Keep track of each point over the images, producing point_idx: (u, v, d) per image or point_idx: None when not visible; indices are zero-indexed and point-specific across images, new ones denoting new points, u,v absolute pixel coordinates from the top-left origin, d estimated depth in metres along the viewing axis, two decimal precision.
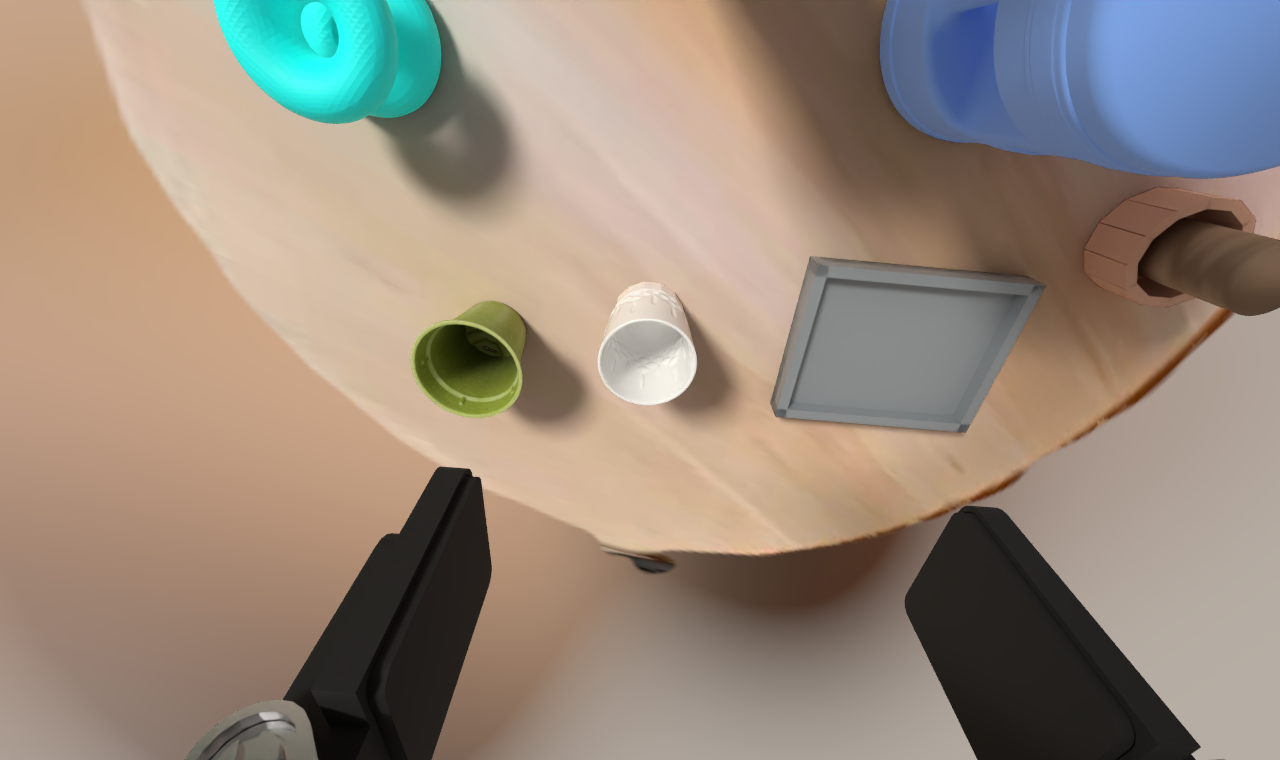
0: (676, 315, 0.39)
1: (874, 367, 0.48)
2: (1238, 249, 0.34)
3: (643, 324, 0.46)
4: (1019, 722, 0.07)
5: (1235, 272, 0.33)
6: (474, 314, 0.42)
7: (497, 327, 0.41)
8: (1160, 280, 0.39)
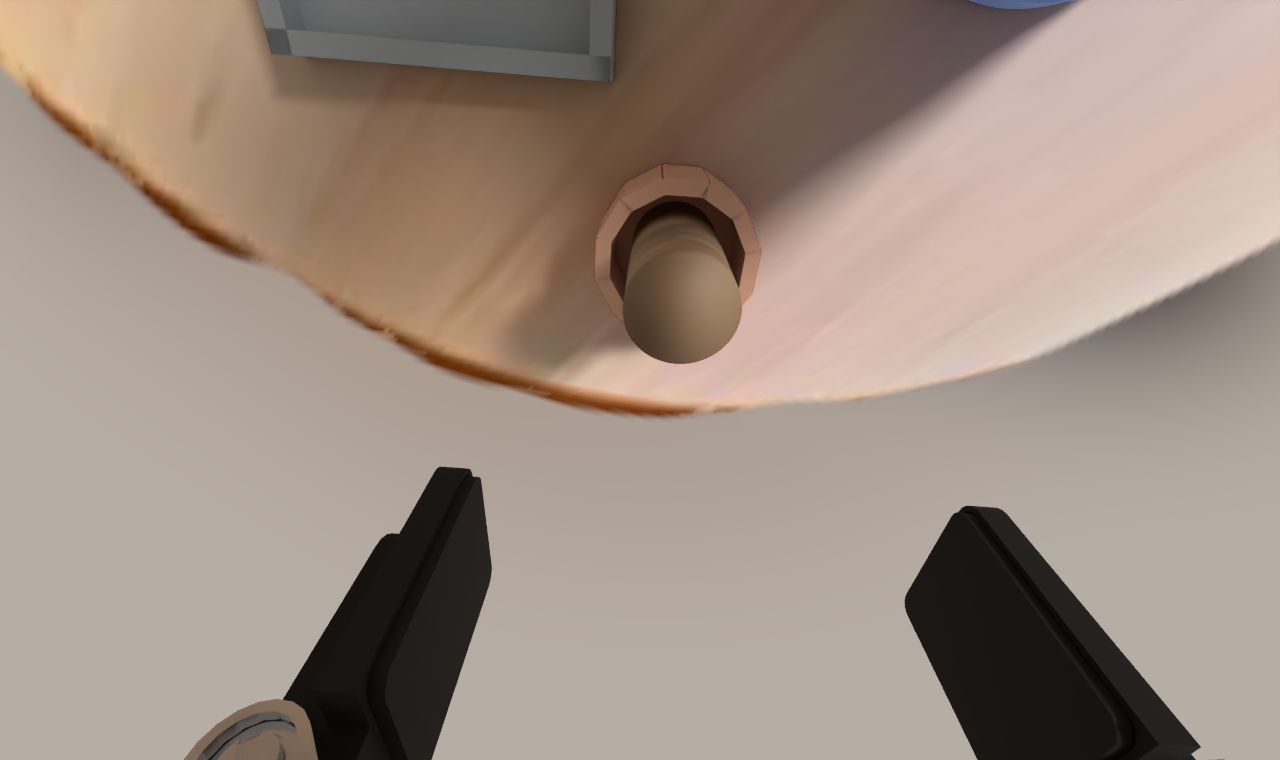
0: None
1: None
2: (722, 259, 0.21)
3: None
4: (1019, 722, 0.07)
5: (696, 251, 0.19)
6: None
7: None
8: (640, 236, 0.24)
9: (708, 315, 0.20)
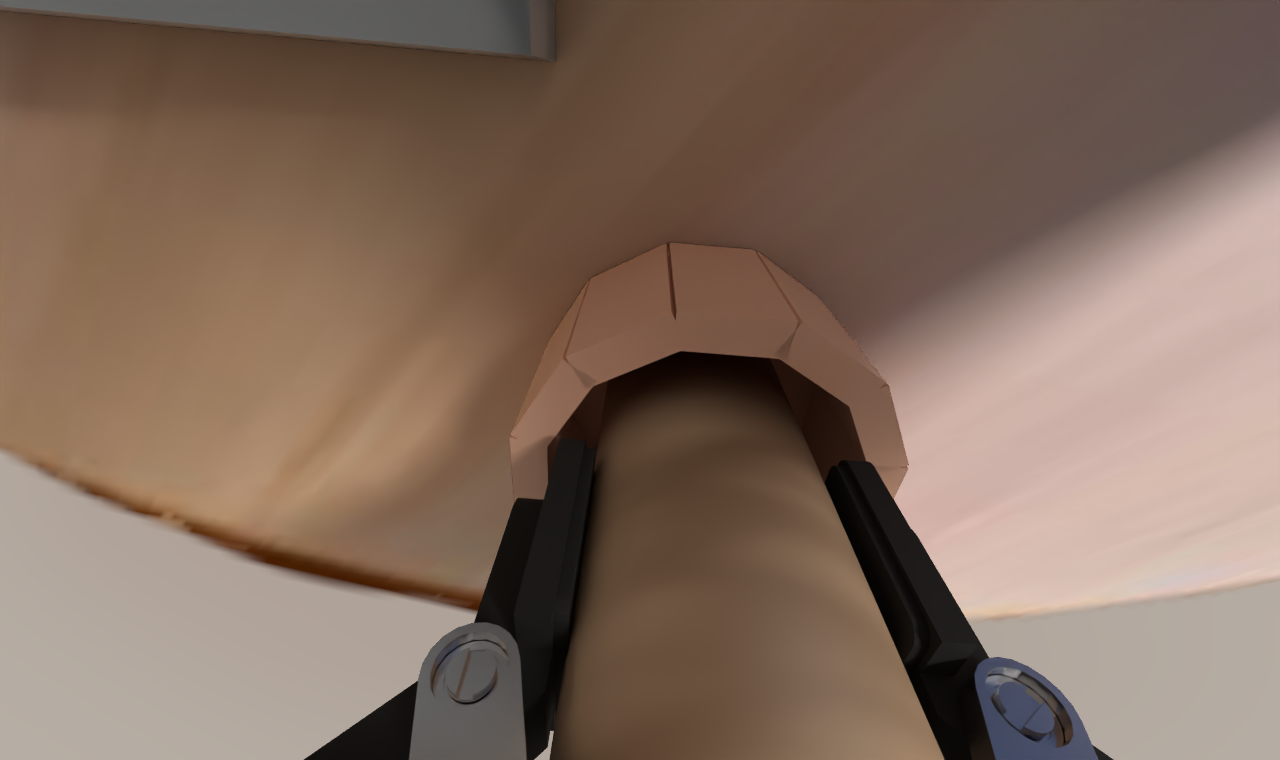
0: None
1: None
2: (882, 642, 0.06)
3: None
4: None
5: (823, 723, 0.05)
6: None
7: None
8: (616, 449, 0.10)
9: None
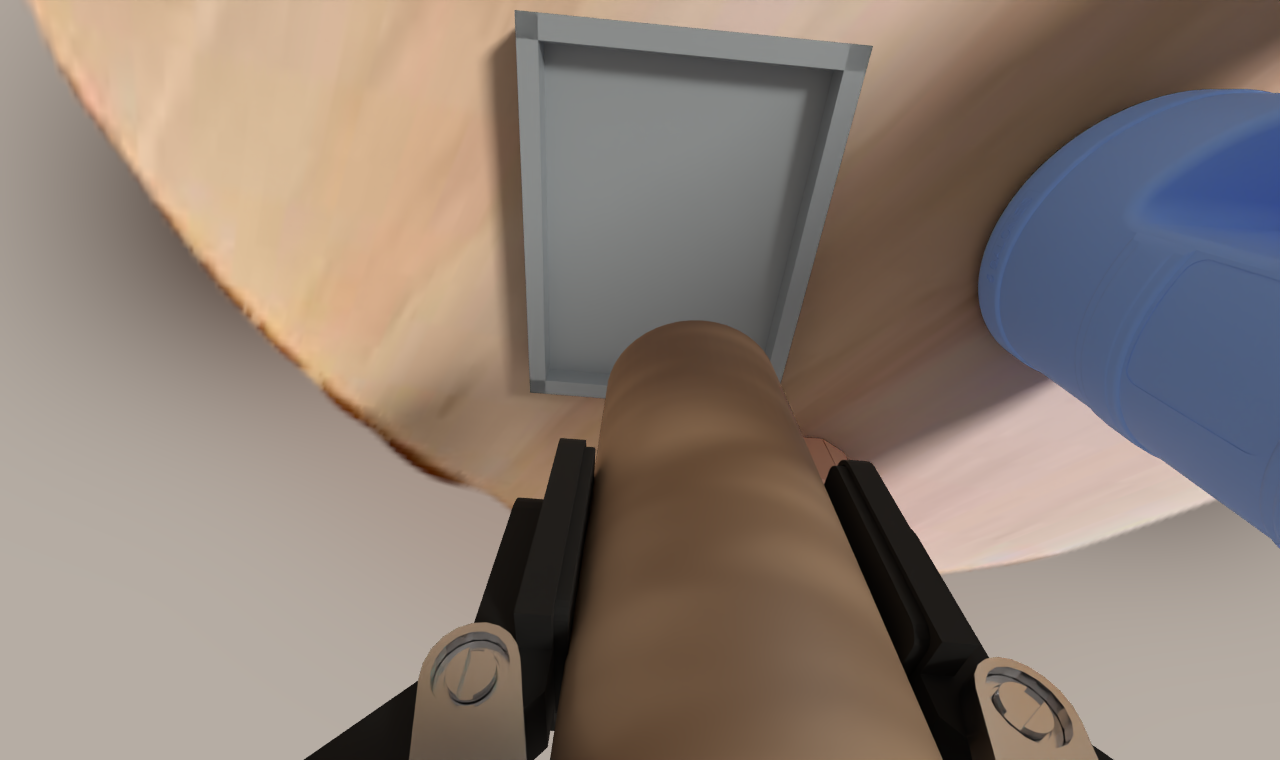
0: None
1: (633, 222, 0.27)
2: (881, 644, 0.06)
3: None
4: None
5: (822, 724, 0.05)
6: None
7: None
8: (616, 450, 0.10)
9: None
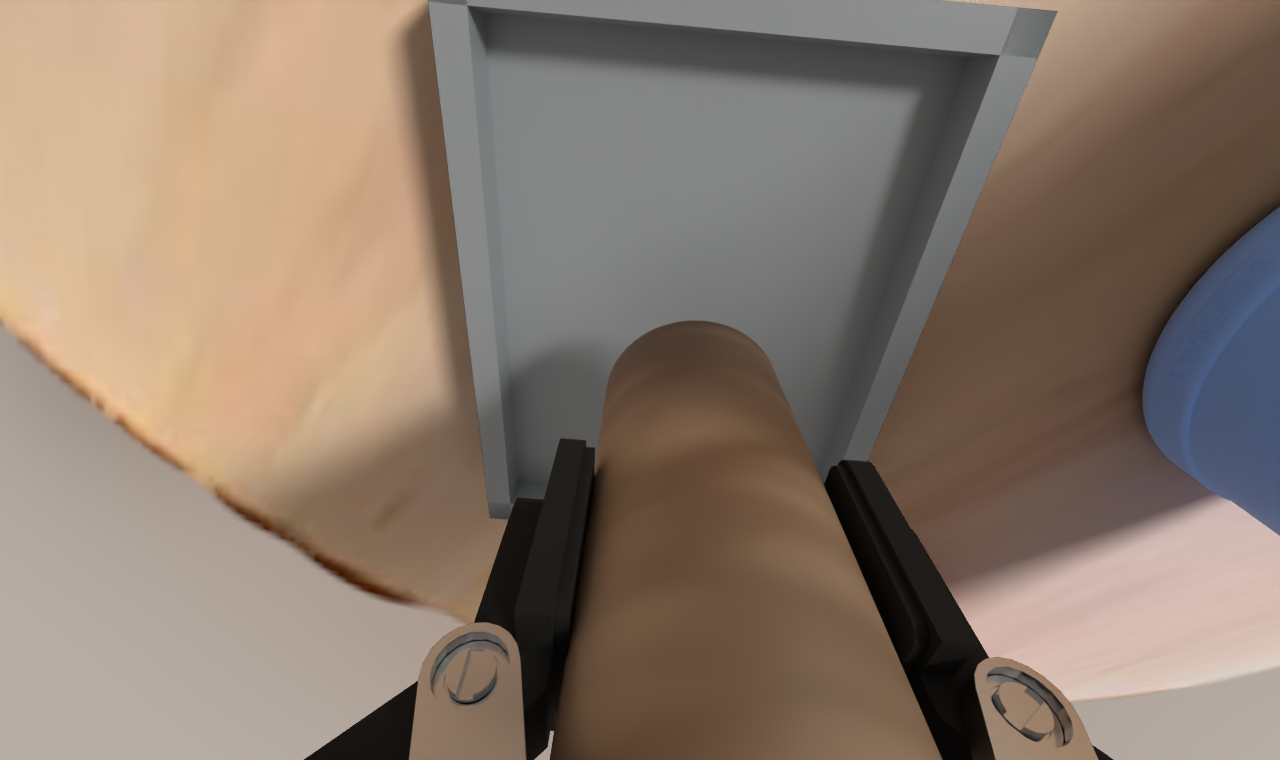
0: None
1: (634, 291, 0.18)
2: (882, 645, 0.06)
3: None
4: None
5: (822, 727, 0.05)
6: None
7: None
8: (616, 450, 0.10)
9: None
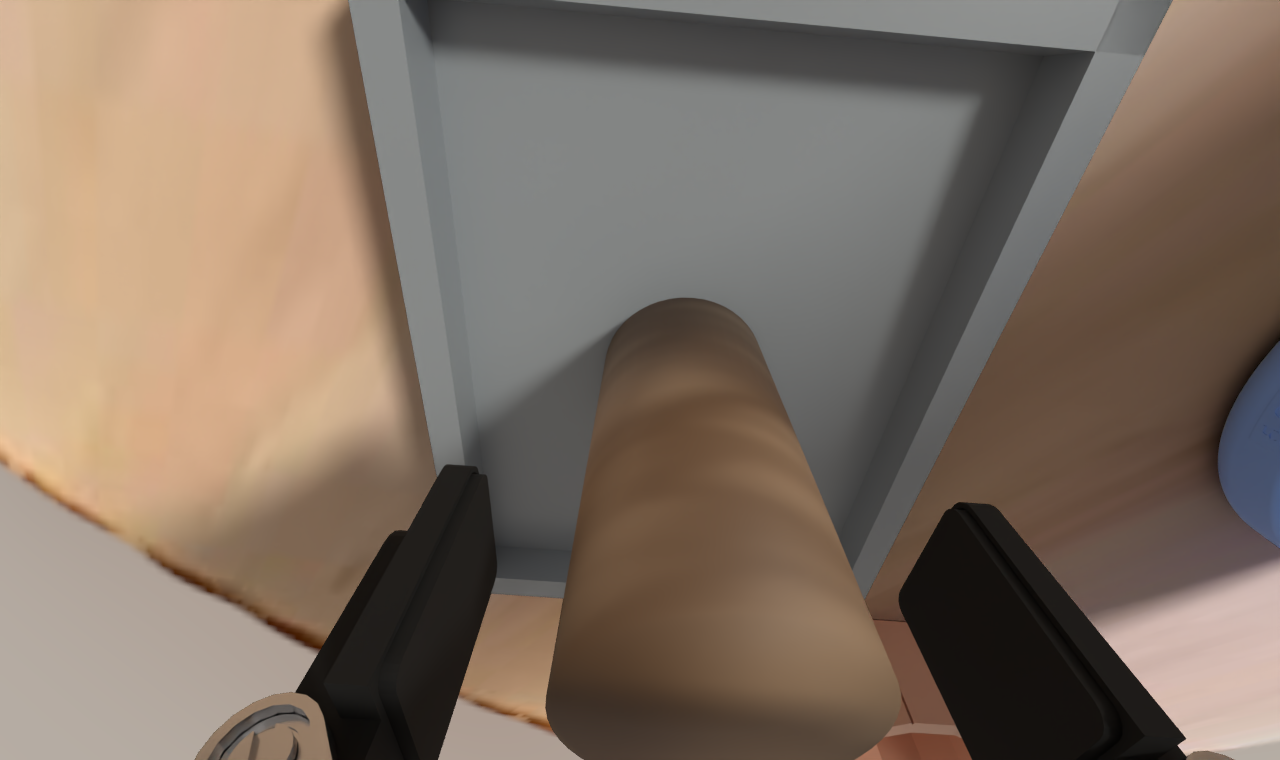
0: None
1: None
2: (831, 545, 0.07)
3: None
4: (1010, 715, 0.07)
5: (773, 587, 0.06)
6: None
7: None
8: (612, 405, 0.11)
9: (795, 724, 0.07)
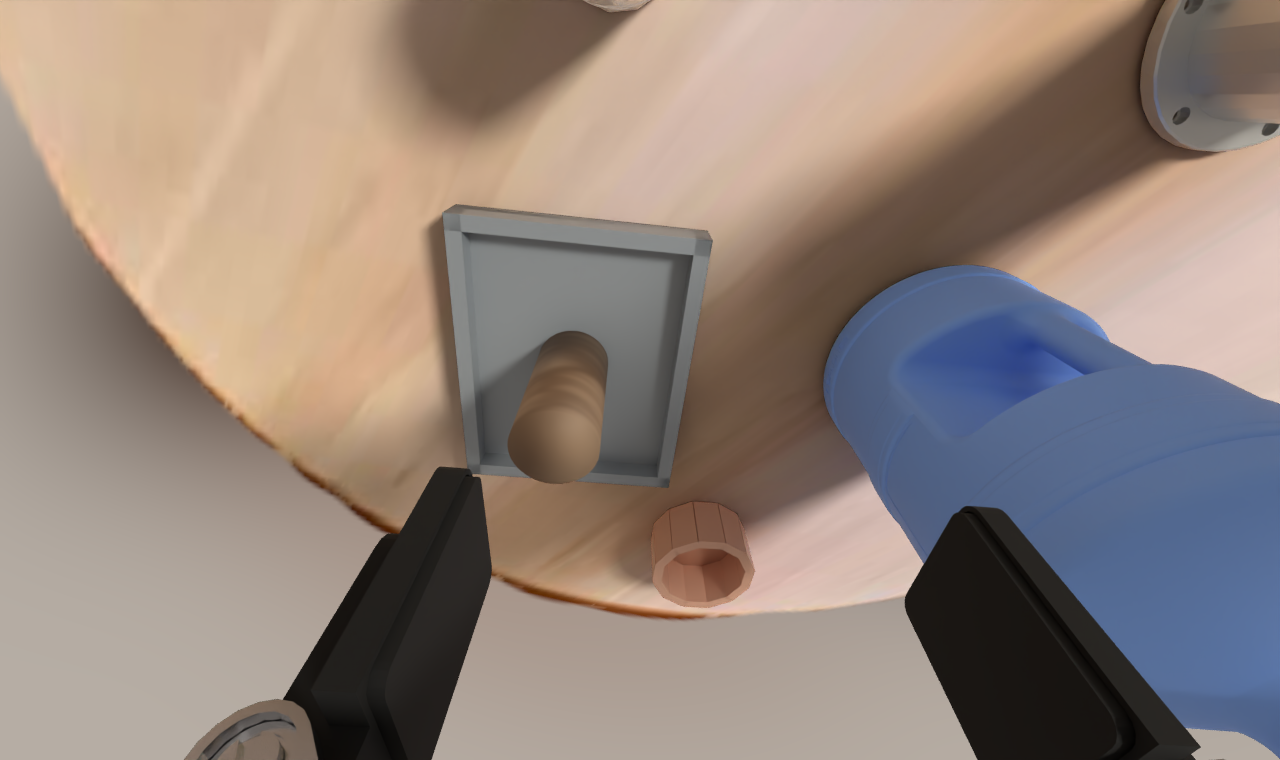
0: None
1: None
2: (587, 406, 0.27)
3: None
4: (1019, 722, 0.07)
5: (561, 408, 0.25)
6: None
7: None
8: (534, 372, 0.30)
9: (574, 451, 0.26)
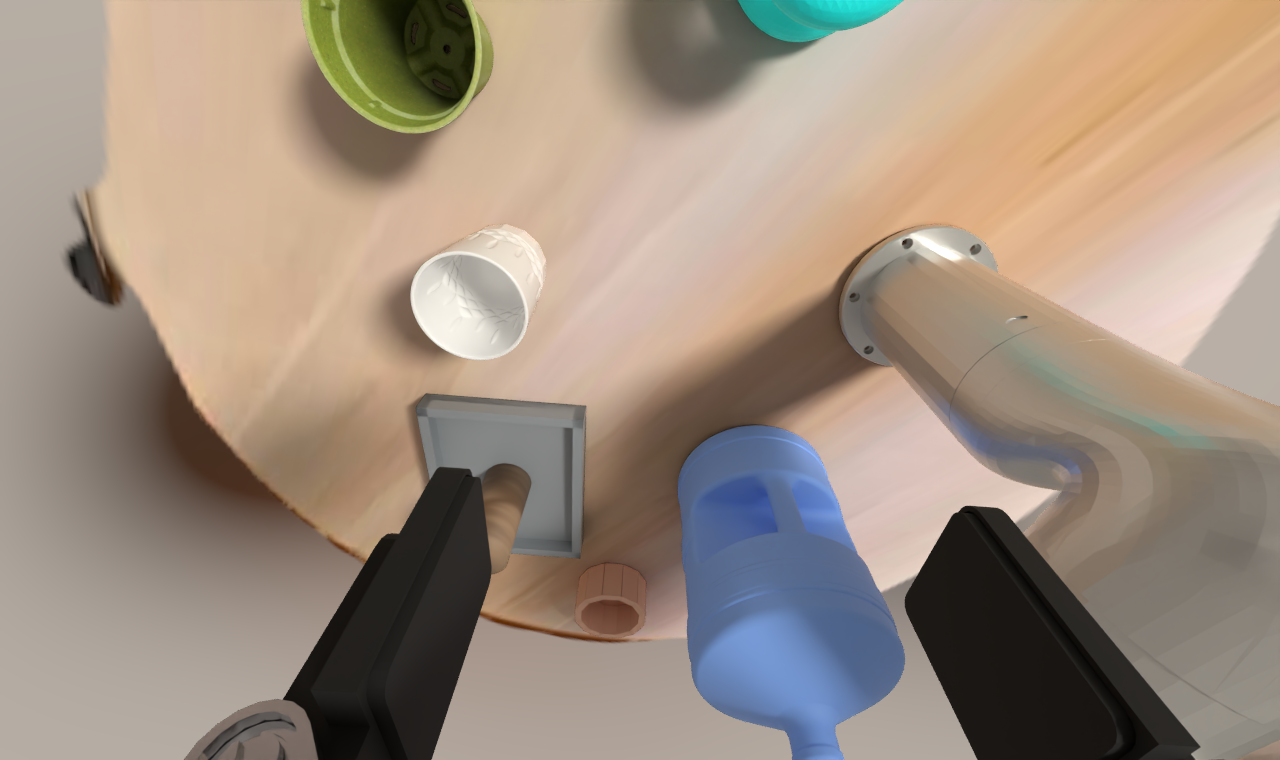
0: None
1: None
2: (501, 530, 0.44)
3: None
4: (1018, 721, 0.07)
5: None
6: (481, 44, 0.29)
7: None
8: None
9: (492, 558, 0.44)
